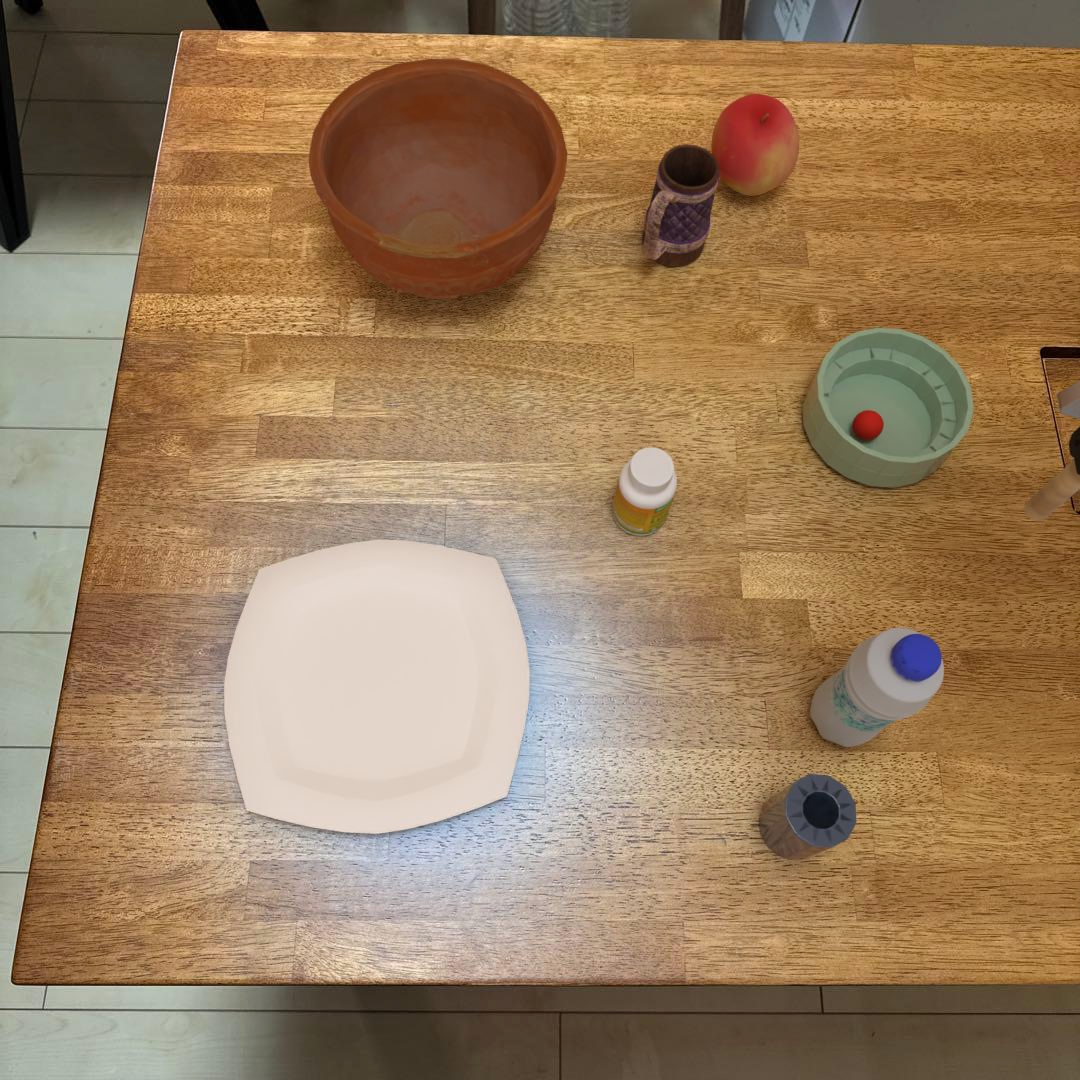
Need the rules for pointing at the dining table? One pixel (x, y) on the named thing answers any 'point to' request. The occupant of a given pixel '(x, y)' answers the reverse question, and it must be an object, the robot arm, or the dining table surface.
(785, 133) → the apple
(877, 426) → the red ball
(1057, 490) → the stick
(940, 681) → the bottle
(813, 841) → the holder
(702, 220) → the mug
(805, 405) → the green round dish
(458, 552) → the plate
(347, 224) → the bowl
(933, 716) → the dining table surface
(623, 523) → the supplement bottle
